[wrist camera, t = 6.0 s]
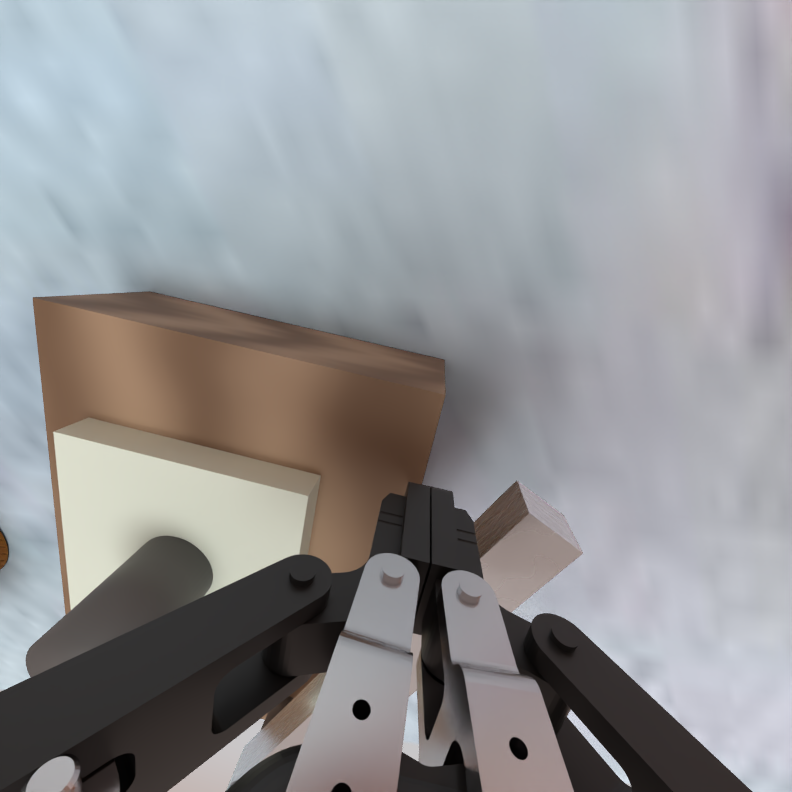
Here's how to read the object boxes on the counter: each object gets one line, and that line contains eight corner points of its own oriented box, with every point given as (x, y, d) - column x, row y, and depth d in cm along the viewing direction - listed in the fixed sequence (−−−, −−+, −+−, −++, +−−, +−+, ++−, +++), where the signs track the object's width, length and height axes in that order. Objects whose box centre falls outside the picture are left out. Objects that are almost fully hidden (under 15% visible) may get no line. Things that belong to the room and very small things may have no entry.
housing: (444, 359, 19) (446, 408, 12) (372, 640, 26) (345, 780, 18) (149, 291, 20) (-14, 299, 13) (151, 580, 26) (43, 693, 19)
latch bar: (568, 518, 12) (595, 569, 10) (280, 771, 18) (258, 837, 16) (512, 476, 12) (527, 520, 10) (239, 746, 18) (211, 810, 16)
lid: (320, 475, 15) (247, 595, 9) (291, 651, 18) (224, 819, 13) (88, 417, 16) (-115, 498, 10) (100, 598, 19) (-49, 738, 13)
